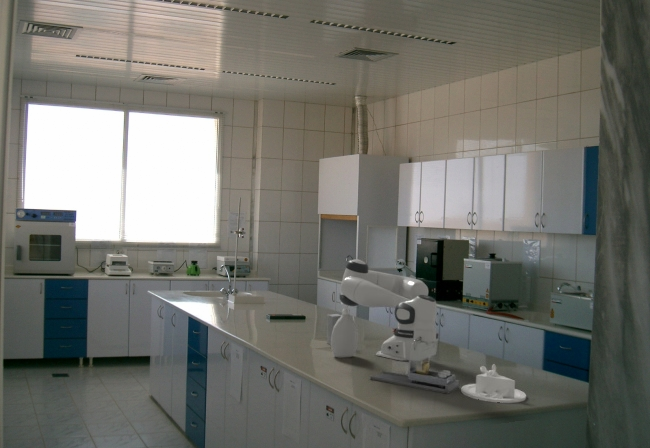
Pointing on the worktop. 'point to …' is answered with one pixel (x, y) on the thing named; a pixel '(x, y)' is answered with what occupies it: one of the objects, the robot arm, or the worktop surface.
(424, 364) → the wooden block
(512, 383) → the dish
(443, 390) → the track
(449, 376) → the steel puck
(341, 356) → the soap bottle
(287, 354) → the worktop surface
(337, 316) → the skincare box
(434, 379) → the long grey tray
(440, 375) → the steel puck
